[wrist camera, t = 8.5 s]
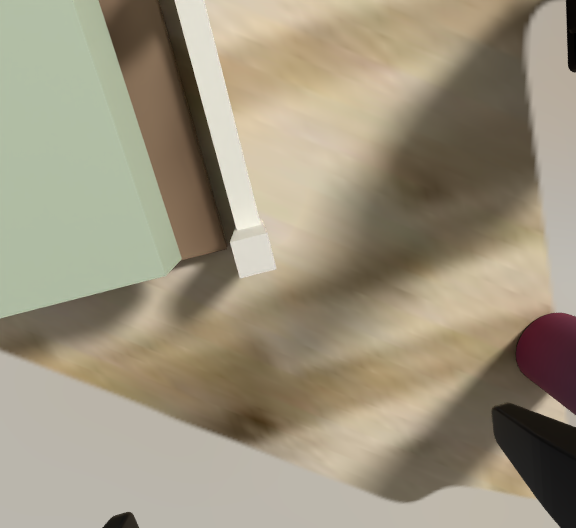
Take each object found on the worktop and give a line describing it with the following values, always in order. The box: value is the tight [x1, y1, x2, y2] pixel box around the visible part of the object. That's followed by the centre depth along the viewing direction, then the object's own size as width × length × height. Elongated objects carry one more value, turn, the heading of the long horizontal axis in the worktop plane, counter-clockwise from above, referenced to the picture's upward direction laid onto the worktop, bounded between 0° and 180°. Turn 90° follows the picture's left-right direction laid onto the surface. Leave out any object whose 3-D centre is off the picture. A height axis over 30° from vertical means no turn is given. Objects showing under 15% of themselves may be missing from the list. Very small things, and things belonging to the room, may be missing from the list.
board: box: [0, 0, 182, 318], centre depth 12 cm, size 12×6×3 cm, turn 13°
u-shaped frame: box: [174, 0, 276, 278], centre depth 15 cm, size 2×14×6 cm, turn 13°
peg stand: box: [98, 0, 227, 260], centre depth 16 cm, size 10×13×4 cm
